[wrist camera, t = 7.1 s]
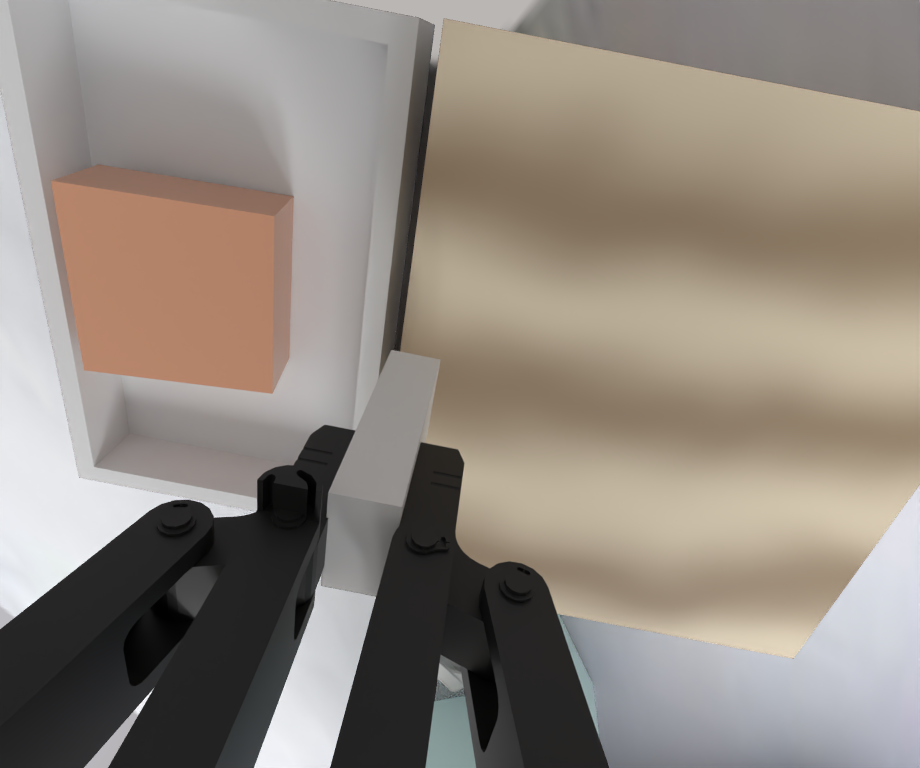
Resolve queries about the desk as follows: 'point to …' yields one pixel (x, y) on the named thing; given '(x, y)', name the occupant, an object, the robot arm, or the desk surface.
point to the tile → (177, 277)
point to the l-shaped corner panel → (450, 724)
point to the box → (234, 164)
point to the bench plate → (668, 331)
